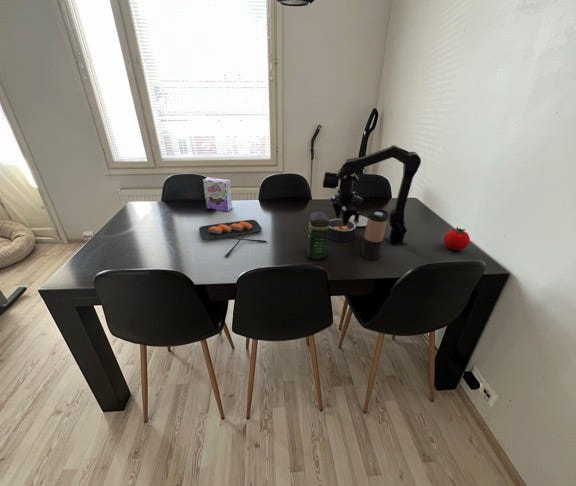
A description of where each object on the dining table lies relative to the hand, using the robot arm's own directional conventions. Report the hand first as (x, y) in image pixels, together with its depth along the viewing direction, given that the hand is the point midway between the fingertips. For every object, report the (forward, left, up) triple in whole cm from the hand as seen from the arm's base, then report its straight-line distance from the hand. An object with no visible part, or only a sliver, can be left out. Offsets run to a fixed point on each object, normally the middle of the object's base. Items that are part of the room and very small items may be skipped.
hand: (341, 221), depth 140 cm
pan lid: (+13, -14, -6) cm, 20 cm away
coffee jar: (-16, +17, -7) cm, 24 cm away
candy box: (+43, +57, -7) cm, 72 cm away
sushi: (0, 0, -6) cm, 7 cm away
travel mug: (-21, -6, -7) cm, 23 cm away
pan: (0, 0, -7) cm, 7 cm away
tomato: (-22, -47, -7) cm, 53 cm away
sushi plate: (+4, +51, -7) cm, 51 cm away
